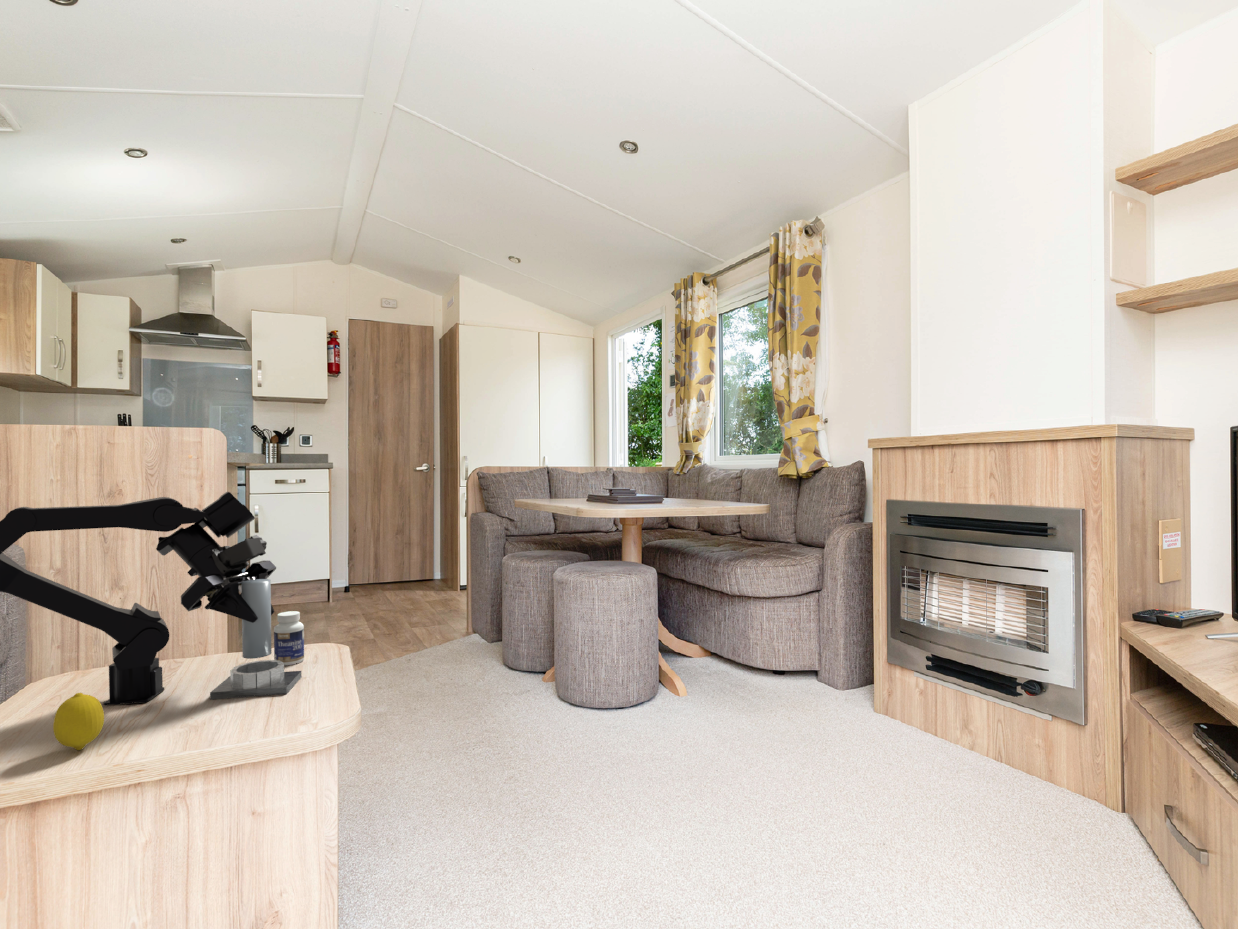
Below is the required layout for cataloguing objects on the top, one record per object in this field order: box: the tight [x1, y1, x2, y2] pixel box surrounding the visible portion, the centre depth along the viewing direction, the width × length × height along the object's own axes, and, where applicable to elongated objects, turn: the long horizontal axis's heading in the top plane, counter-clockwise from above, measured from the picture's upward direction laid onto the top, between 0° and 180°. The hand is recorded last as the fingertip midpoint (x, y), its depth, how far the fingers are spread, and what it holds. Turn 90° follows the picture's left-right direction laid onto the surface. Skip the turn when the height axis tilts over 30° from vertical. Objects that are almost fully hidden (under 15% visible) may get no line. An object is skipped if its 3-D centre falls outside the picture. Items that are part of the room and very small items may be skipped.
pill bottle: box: [273, 610, 305, 666], centre depth 133 cm, size 5×5×10 cm
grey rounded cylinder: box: [241, 578, 272, 660], centre depth 118 cm, size 4×4×13 cm
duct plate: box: [209, 659, 302, 700], centre depth 118 cm, size 12×9×4 cm
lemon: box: [52, 692, 105, 751], centre depth 93 cm, size 6×6×8 cm
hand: (264, 617), depth 118 cm, fingers closed on grey rounded cylinder, 4 cm apart
